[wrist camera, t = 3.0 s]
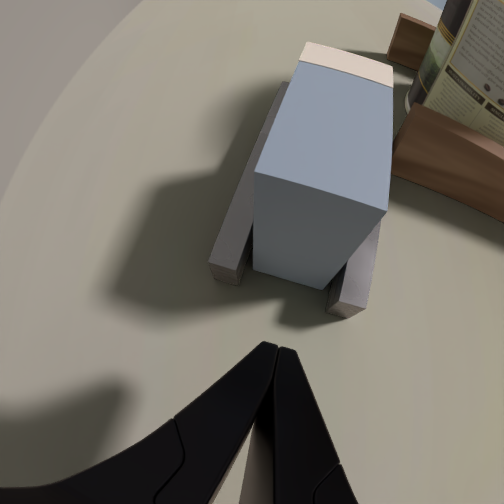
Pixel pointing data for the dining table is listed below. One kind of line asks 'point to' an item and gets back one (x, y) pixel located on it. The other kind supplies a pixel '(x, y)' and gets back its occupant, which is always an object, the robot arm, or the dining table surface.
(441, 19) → the coffee can
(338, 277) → the rails
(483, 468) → the dining table surface
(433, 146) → the walnut bay
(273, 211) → the blue block white cap
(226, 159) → the dining table surface
